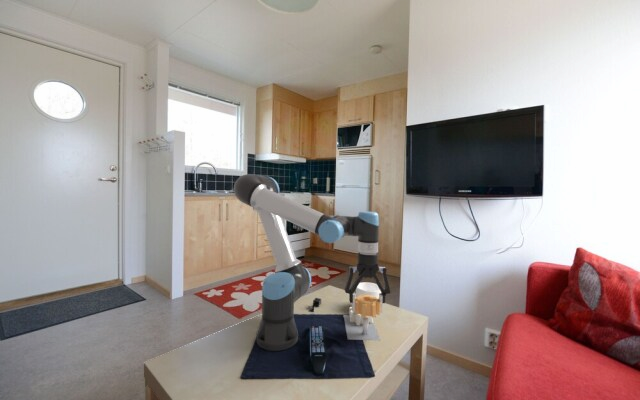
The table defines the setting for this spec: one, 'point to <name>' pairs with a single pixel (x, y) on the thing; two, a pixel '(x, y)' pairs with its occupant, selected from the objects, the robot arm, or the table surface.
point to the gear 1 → (367, 306)
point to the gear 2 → (358, 318)
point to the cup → (368, 289)
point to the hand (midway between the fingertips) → (366, 311)
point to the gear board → (360, 330)
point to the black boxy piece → (315, 304)
